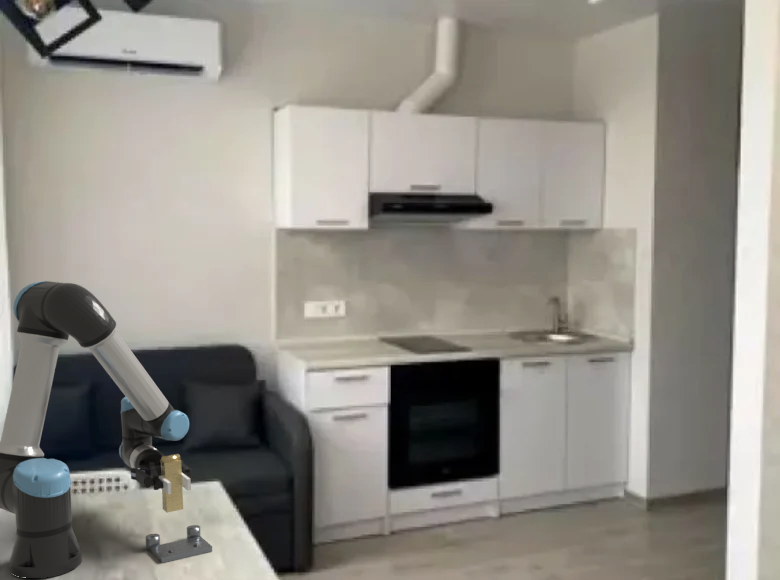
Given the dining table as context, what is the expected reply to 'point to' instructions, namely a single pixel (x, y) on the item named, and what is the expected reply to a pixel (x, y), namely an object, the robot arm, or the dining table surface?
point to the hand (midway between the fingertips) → (179, 486)
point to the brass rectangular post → (172, 482)
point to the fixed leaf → (178, 546)
